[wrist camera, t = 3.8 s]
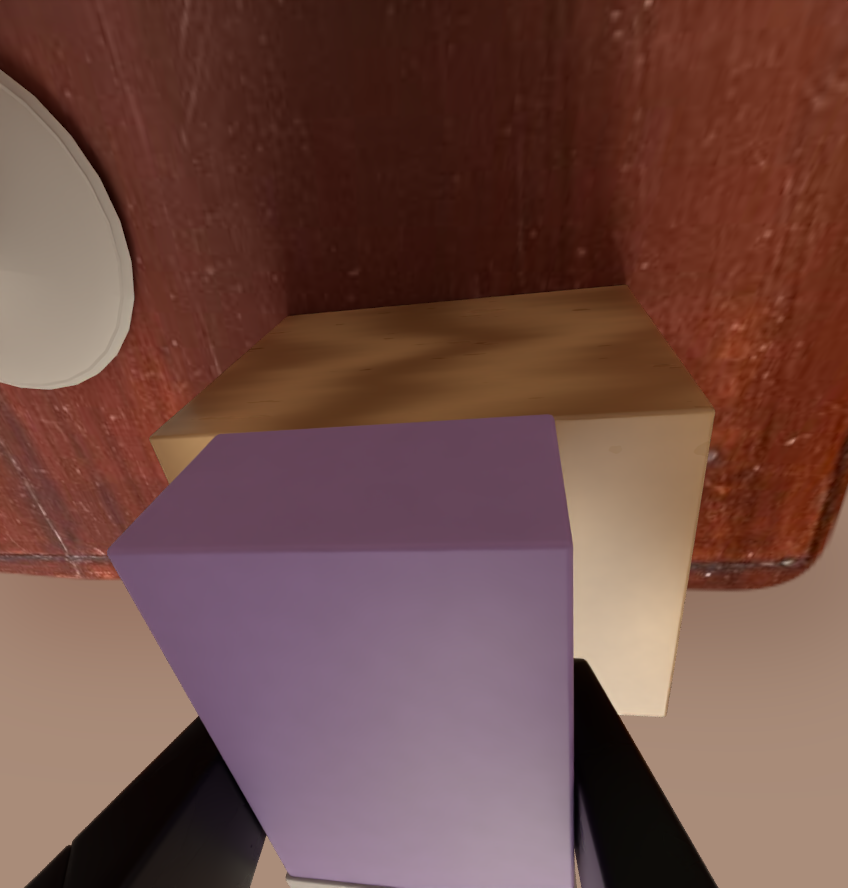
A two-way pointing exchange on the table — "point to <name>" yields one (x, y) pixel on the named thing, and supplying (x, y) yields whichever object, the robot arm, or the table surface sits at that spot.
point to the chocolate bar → (378, 643)
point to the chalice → (55, 253)
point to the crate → (504, 395)
